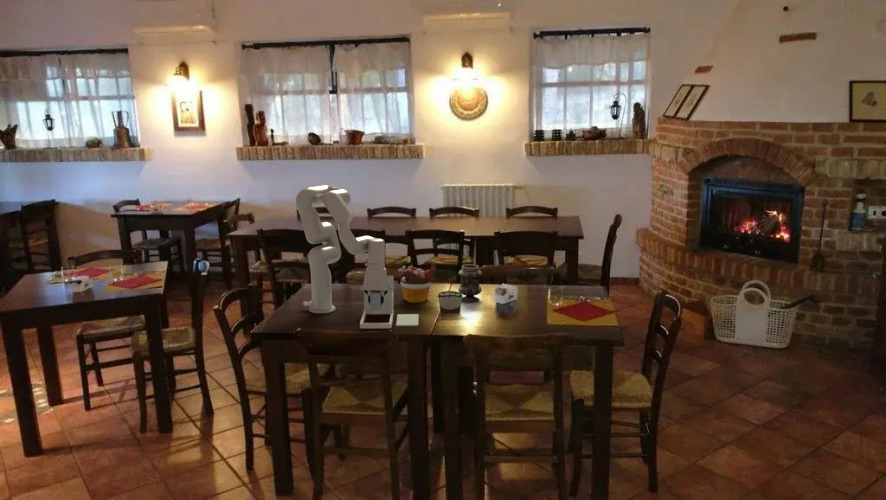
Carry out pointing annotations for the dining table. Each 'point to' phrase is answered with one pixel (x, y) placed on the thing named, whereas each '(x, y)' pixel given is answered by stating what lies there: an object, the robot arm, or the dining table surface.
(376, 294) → the box
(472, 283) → the apothecary jar
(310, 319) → the dining table surface
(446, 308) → the food container
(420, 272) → the bucket of meat
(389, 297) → the case
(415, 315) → the mat
